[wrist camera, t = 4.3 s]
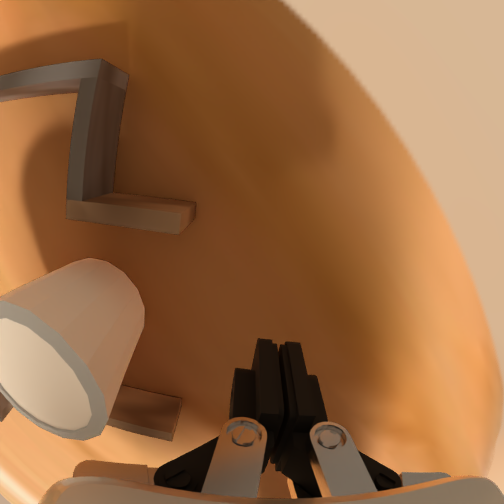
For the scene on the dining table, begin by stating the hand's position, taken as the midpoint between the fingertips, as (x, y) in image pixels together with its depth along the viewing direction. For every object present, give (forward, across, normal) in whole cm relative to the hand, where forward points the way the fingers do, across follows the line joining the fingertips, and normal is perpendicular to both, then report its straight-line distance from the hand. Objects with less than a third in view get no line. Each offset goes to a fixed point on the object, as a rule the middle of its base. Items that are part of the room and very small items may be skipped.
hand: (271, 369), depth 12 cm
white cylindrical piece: (+4, +9, +1) cm, 10 cm away
